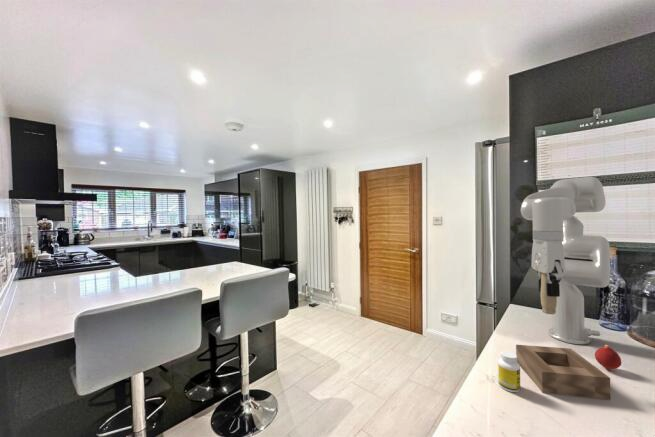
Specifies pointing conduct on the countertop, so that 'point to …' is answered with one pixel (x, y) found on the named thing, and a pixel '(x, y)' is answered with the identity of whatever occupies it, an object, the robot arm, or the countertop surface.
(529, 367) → the well block
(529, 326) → the countertop surface
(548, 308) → the handle
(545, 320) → the countertop surface
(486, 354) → the countertop surface
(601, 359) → the onion
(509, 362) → the supplement bottle
